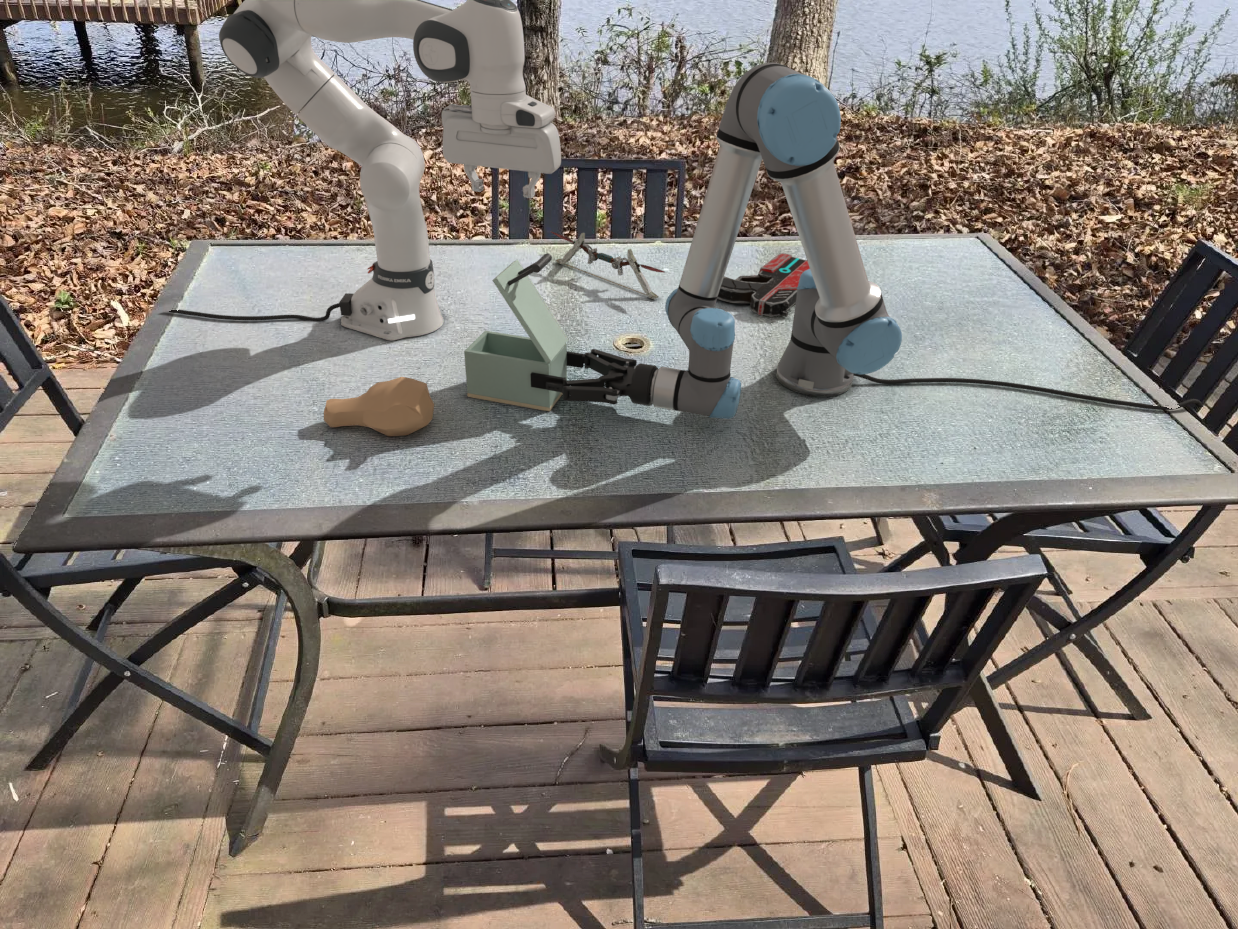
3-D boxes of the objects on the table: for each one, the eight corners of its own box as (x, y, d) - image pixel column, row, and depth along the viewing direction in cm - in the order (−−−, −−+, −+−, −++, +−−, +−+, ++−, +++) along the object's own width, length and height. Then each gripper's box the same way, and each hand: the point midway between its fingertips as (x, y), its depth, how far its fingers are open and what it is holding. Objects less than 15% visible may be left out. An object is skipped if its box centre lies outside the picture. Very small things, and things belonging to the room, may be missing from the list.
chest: (467, 396, 169) (463, 351, 163) (487, 374, 177) (485, 330, 171) (549, 411, 165) (548, 365, 160) (567, 388, 173) (566, 343, 167)
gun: (708, 284, 207) (784, 305, 199) (760, 245, 229) (831, 262, 221) (706, 302, 209) (781, 323, 201) (758, 261, 231) (828, 278, 223)
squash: (434, 443, 155) (421, 404, 149) (325, 451, 157) (307, 413, 150) (443, 403, 163) (431, 365, 157) (339, 412, 164) (323, 374, 158)
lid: (492, 280, 154) (528, 259, 149) (513, 261, 161) (548, 241, 157) (546, 363, 160) (582, 345, 155) (564, 341, 167) (599, 324, 163)
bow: (666, 301, 209) (668, 260, 204) (661, 303, 208) (663, 262, 203) (554, 258, 231) (553, 221, 225) (549, 260, 229) (548, 222, 224)
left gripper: (431, 106, 142) (439, 192, 150) (550, 117, 137) (551, 205, 145) (449, 98, 147) (456, 182, 155) (564, 109, 142) (565, 195, 150)
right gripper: (637, 433, 154) (519, 412, 159) (669, 377, 172) (562, 359, 177) (639, 396, 150) (518, 375, 155) (671, 342, 168) (561, 325, 173)
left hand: (503, 193), depth 150 cm, fingers open, 8 cm apart
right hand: (541, 367), depth 166 cm, fingers closed on chest, 10 cm apart
